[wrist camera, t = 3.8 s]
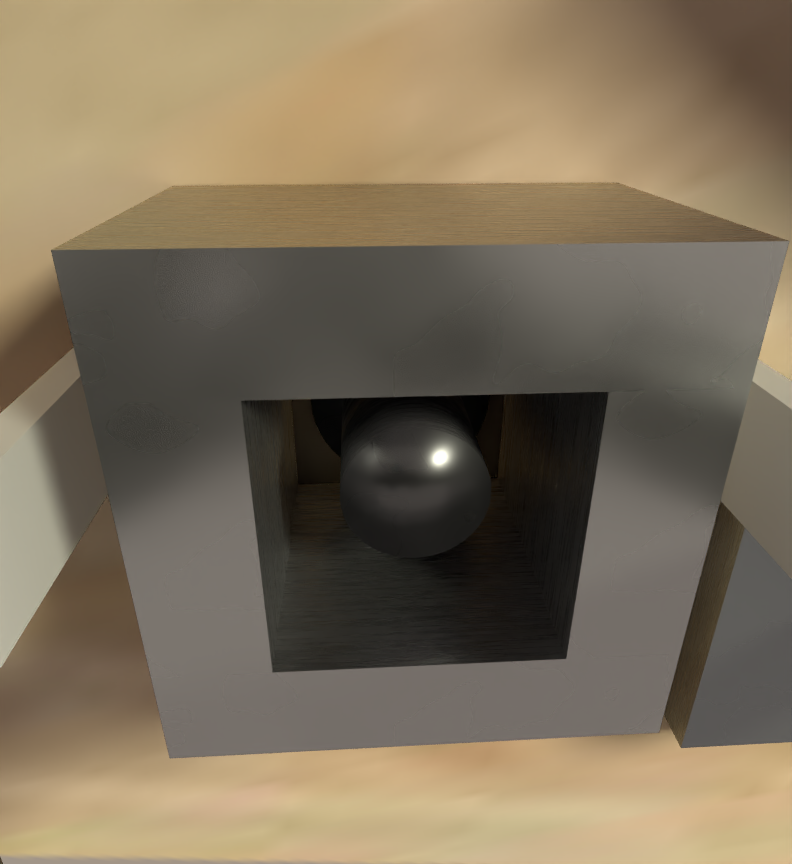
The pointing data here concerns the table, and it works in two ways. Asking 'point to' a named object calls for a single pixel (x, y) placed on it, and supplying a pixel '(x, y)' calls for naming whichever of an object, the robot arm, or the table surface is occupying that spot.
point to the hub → (735, 647)
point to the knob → (408, 469)
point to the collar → (405, 377)
